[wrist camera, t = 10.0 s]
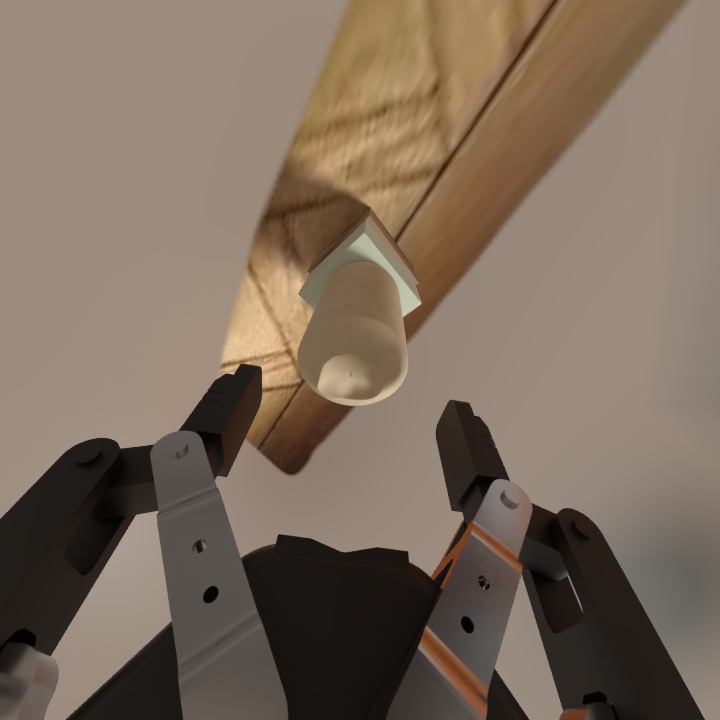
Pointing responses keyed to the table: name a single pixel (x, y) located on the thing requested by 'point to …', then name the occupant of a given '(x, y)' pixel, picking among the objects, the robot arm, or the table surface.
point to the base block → (382, 233)
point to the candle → (356, 337)
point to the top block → (361, 248)
